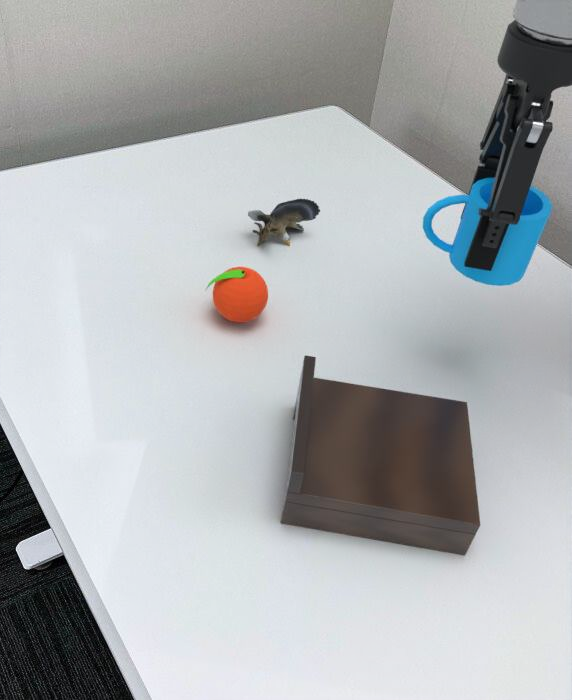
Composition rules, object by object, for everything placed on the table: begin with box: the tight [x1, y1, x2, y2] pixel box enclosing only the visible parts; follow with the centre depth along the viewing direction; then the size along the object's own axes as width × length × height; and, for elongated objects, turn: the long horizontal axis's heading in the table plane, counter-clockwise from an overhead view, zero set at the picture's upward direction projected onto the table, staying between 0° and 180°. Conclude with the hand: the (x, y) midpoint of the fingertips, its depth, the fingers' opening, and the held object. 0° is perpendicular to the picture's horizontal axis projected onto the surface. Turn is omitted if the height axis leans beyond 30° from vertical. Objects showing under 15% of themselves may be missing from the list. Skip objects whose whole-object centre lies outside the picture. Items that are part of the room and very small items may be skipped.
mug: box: [422, 177, 553, 287], centre depth 82 cm, size 12×8×8 cm
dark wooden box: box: [280, 355, 481, 556], centre depth 78 cm, size 18×16×8 cm
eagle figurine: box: [247, 198, 321, 247], centre depth 110 cm, size 8×7×9 cm
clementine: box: [204, 266, 269, 323], centre depth 96 cm, size 8×7×7 cm
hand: (475, 242), depth 83 cm, fingers closed on mug, 8 cm apart
